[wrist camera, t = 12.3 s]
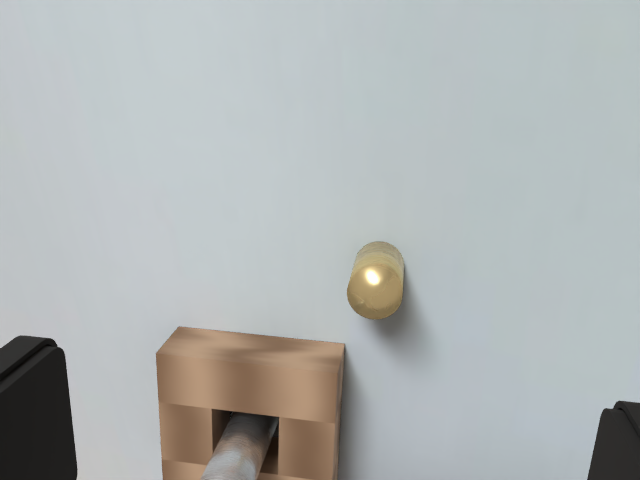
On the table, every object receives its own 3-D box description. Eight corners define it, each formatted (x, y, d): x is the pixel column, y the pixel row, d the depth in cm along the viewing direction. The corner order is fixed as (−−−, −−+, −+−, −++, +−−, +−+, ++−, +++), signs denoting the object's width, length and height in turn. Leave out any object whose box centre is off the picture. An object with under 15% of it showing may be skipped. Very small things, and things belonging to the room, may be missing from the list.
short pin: (405, 243, 38) (404, 270, 34) (402, 289, 39) (400, 321, 35) (356, 239, 39) (348, 265, 34) (353, 285, 40) (345, 316, 35)
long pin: (281, 391, 43) (233, 513, 32) (280, 429, 44) (234, 560, 33) (238, 387, 44) (176, 505, 32) (239, 424, 45) (179, 551, 33)
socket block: (344, 343, 41) (337, 373, 37) (336, 486, 45) (329, 526, 41) (178, 326, 43) (155, 353, 39) (184, 465, 46) (164, 502, 43)
